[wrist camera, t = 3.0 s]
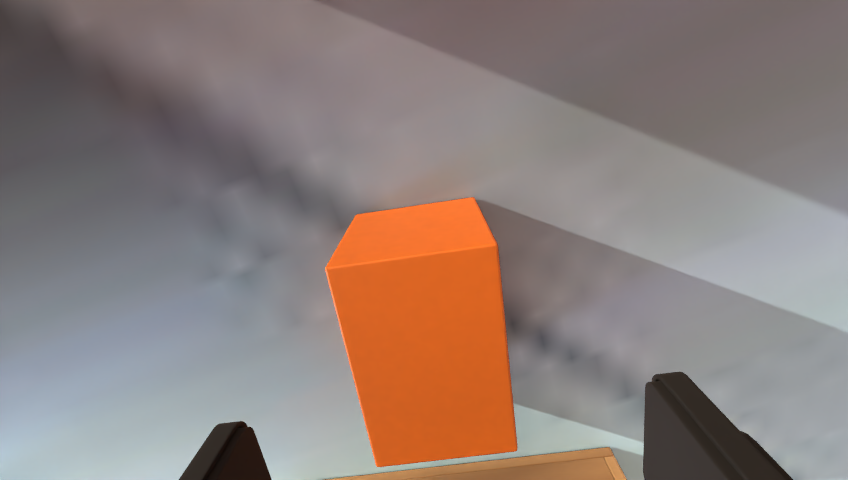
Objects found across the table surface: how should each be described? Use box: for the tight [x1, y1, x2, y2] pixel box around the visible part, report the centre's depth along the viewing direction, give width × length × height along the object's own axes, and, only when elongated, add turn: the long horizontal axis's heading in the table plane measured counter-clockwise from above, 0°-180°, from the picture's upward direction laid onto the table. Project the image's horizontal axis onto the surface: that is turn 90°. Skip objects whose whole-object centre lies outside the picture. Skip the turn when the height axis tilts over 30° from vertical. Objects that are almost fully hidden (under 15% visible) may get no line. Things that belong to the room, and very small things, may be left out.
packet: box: [325, 197, 517, 467], centre depth 14 cm, size 7×4×5 cm, turn 9°
